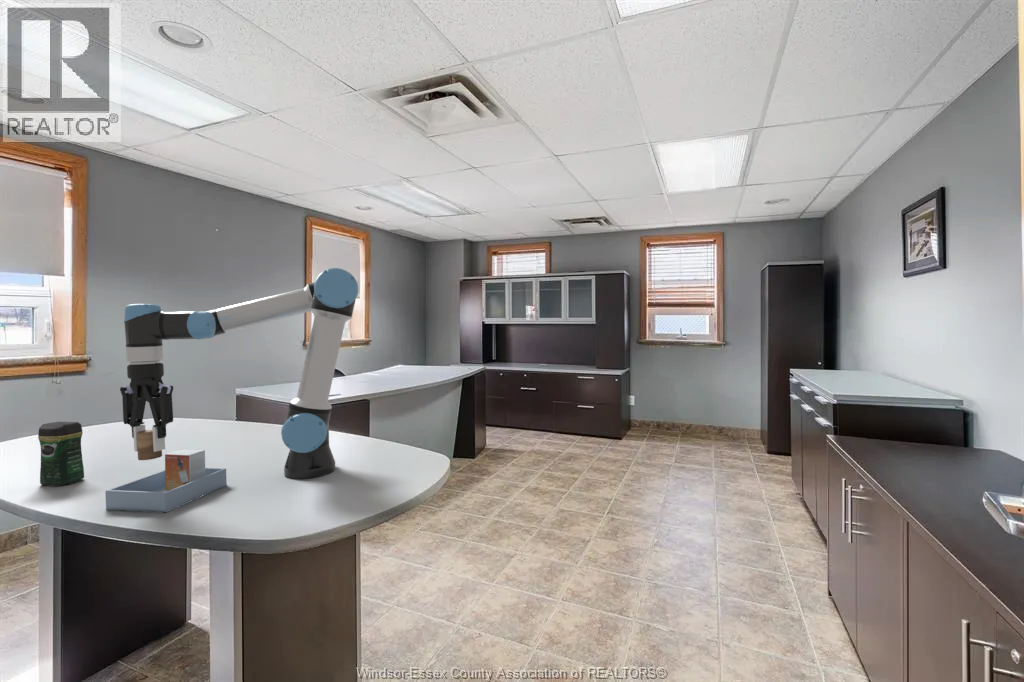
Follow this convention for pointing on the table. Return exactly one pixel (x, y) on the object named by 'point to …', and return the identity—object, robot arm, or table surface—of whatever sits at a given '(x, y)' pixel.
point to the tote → (162, 492)
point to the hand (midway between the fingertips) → (149, 450)
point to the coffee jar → (60, 453)
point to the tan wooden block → (146, 446)
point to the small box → (183, 467)
